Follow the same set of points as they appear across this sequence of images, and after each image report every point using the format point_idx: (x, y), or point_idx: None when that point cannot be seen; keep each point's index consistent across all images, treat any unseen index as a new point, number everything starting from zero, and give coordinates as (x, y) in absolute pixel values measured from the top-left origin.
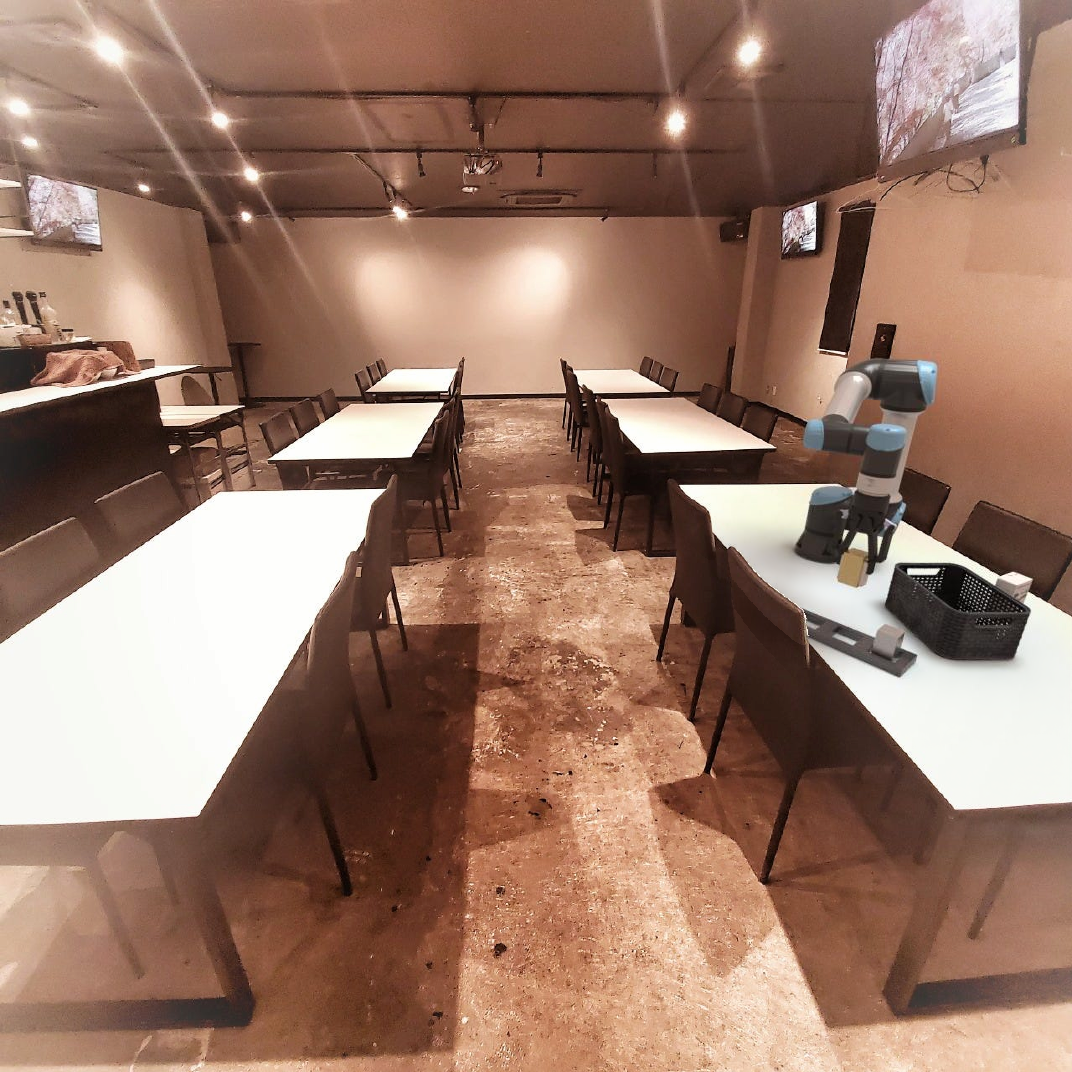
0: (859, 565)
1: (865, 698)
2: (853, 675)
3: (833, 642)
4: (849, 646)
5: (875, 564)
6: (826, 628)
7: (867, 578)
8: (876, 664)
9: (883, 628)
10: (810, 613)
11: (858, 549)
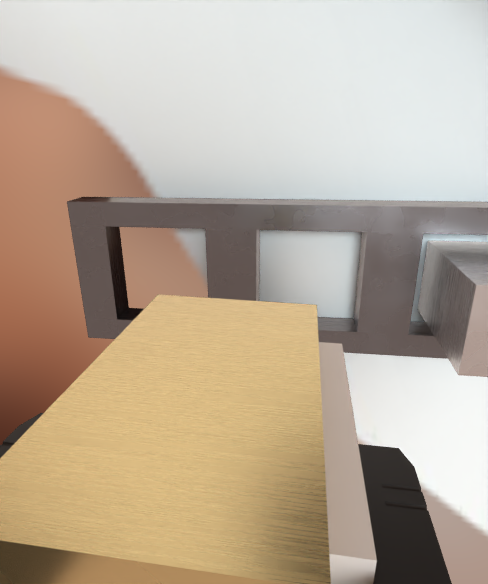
0: None
1: (467, 509)
2: (406, 435)
3: None
4: (350, 348)
5: (445, 578)
6: (233, 286)
7: (345, 377)
8: None
9: (480, 337)
10: (129, 218)
11: (44, 555)
